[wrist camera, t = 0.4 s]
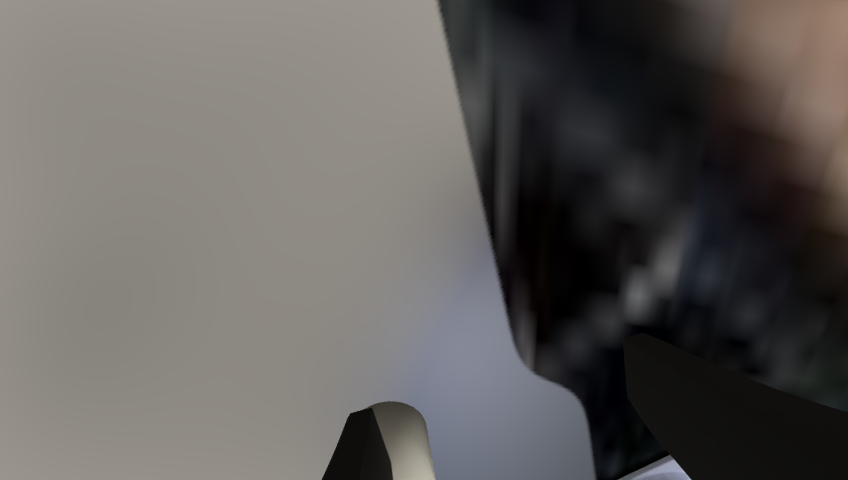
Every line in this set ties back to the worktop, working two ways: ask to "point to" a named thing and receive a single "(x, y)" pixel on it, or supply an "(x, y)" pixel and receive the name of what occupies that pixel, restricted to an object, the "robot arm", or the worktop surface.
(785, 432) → the robot arm
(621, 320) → the worktop surface
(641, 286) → the worktop surface
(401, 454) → the spice pot
